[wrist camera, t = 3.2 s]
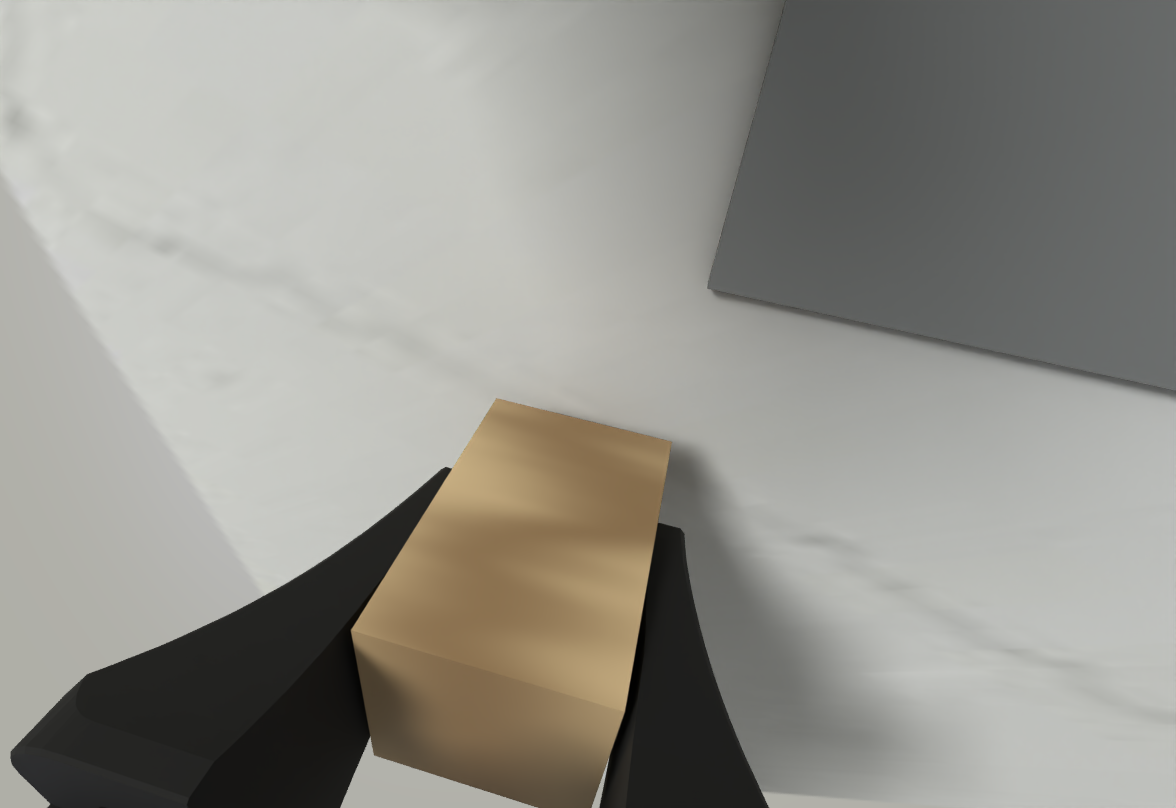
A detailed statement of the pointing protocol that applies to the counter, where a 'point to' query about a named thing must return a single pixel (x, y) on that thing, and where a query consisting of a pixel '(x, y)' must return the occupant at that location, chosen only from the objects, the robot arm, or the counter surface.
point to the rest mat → (970, 176)
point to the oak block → (517, 609)
